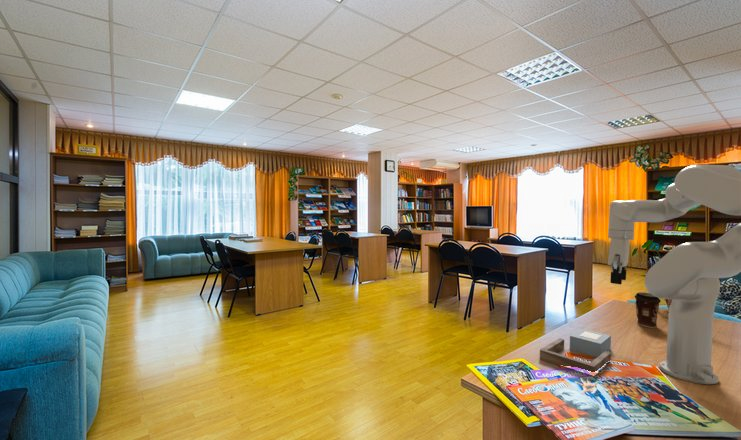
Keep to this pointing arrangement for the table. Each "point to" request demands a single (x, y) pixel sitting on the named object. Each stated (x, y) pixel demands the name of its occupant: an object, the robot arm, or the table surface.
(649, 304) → the coffee cup
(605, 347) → the carton
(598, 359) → the display bay
